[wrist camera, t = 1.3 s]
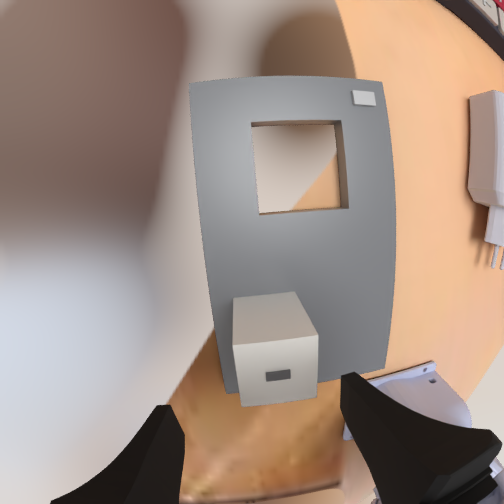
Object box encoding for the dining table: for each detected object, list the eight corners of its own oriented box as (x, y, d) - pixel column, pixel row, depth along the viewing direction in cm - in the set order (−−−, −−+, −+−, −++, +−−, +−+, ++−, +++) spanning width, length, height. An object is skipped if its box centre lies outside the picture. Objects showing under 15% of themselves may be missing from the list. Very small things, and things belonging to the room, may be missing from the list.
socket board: (373, 87, 17) (383, 80, 16) (377, 359, 22) (385, 370, 20) (192, 90, 17) (188, 81, 15) (226, 382, 22) (226, 396, 20)
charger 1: (294, 291, 19) (319, 336, 13) (296, 343, 20) (317, 399, 14) (233, 297, 19) (232, 346, 13) (239, 350, 20) (241, 408, 14)
